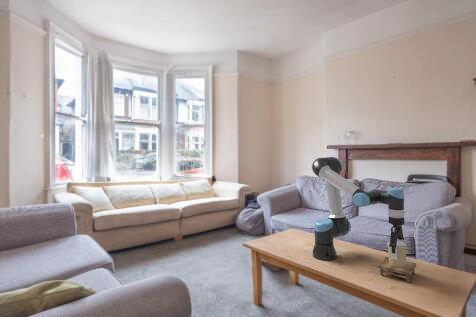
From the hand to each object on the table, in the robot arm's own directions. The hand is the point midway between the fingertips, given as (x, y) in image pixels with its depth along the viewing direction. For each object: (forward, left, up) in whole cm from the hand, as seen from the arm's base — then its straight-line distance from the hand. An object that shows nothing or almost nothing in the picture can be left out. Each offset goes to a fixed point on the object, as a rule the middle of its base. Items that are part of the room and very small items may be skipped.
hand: (397, 254), depth 146 cm
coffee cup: (0, 0, -5) cm, 5 cm away
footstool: (0, 0, -11) cm, 11 cm away
